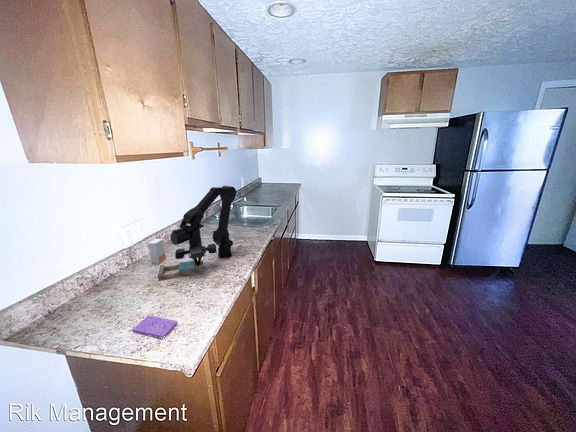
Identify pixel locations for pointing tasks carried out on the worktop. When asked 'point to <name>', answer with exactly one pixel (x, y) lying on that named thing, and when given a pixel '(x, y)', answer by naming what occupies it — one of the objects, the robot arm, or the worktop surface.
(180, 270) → the block
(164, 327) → the sponges
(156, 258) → the skincare box
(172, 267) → the guide channel
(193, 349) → the worktop surface
